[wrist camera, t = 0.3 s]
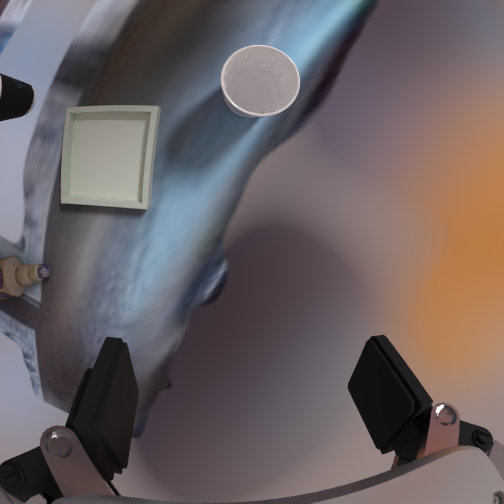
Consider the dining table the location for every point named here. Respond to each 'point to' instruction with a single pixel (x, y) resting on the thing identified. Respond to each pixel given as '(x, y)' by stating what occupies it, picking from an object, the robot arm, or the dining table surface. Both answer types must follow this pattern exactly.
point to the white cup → (259, 81)
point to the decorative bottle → (19, 276)
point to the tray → (109, 155)
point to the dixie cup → (15, 98)
